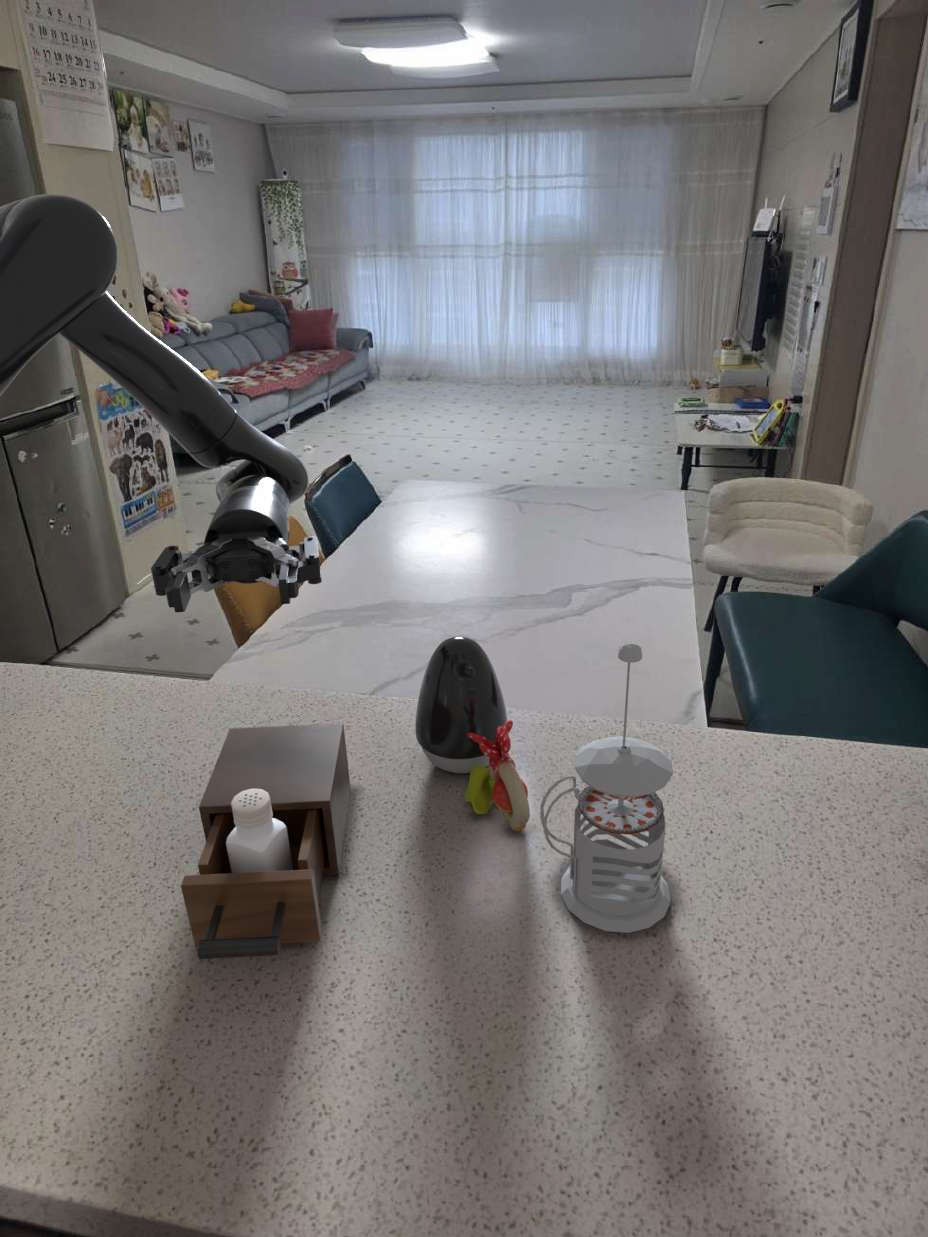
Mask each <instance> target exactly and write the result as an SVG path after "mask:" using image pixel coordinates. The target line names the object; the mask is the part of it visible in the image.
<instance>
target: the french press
mask: <svg viewBox="0 0 928 1237" xmlns="http://www.w3.org/2000/svg"><path fill="white" fill-rule="evenodd" d="M617 658H618V659H619V660H620V661H622V662H625V663H627V670H626V687H625V701H624V702H625V704H624V705H625V706H624V719H623V734H622V735H619V736H611V737H605V738H599V739H595V740H593V741H591V742H589V743H587V744H585V745H582V746H581V747H580V749H579V750H578V751H577V753H576V754H575V755H574V766H573V767H574V770H575V771H576V773H577V775H578V777H579V778H580V780H581V781H582V783H583V784H585V785H587V786H586V787H584V788H583V790H582V791H581V790H580V789H579V788H578V787H577V778H576V777H575V776H574V775H567V776H565V777H563V778H561V779H559V780H556V781H555V783H553V784H552V785H551V786H550V787H549V788H548V789H547V791H546V793H545V794H544V796H543V798H542V801H541V803H540V811H539V812H540V813H539V814H540V816H539V818H540V821H541V825H542V827H543V833H544V836H545V837H544V838H545V840H546V842H547V843H548V845H549V846H550V848H551V849H553V850H554V851H556V852H557V853H559V854H560V855H562V856H566V857H568V858H570V860H569V861H570V862H569V866H568V868H567V869H566V871H564V874H563V875H562V877H561V880H560V896H561V898H562V900H563V902H564V904H565V905H566V908H567V909H568V911H569V912H571V914H573V915H574V916H575V917H577V918H578V919H579V920H580V921H581V922H583V923H584V924H586V925H589V926H591V927H594V928H596V929H599V930H602V931H604V932H612V933H613V932H614V933H623V934H625V933H626V934H630V933H635V932H638V931H643V930H645V929H649V928H651V927H653V926H654V925H655V924H657V923H658V922H660V921H661V920H662V919H664V918H665V916H666V914H667V912H668V909H669V907H670V905H671V903H672V899H671V892H670V885H669V884H668V883H667V881H666V880H665V879H664V877H663V875H662V867H663V857H664V847H665V837H666V827H667V822H666V817H665V815H664V813H665V811H664V804H663V803H664V802H663V800H662V799H661V798H660V797H659V796H658V794H657V793H656V792H658V791H660V790H661V789H664V788H665V787H666V786H667V785H668V783H669V781H670V780H671V778H672V776H673V774H674V768H673V763H672V760H671V758H669V756H668V755H667V754H666V753H665V752H664V751H663V750H661V749H659V747H656V746H654V745H653V744H651V743H649V742H647V741H644V740H641V739H637V738H632V737H627V723H628V722H627V720H628V708H629V707H628V706H629V705H628V703H629V689H630V687H629V686H630V673H631V663H632V664H633V663H638V662H640V661H642V659H643V650H642V647H641V646H640V645H639V644H636V643H635V642H633V641H629V642H624V643H622V644H621V645H620V646H619V647H618V650H617ZM569 779H571V780H572V787H570V788H569V789H566V790H565V791H562V792H560V793H559V794H558V795H557V796H556V797H555V798H554V799H553V800H552V801H551V803H550V804H549V805H548V807H547V809H546V812H545V809H544V807H545V806H546V805H545V804H546V801H547V799H548V797H549V795H550V794H551V793H552V791H553V790H554V789H555V788H556V787H557V786H559V784H561V783H563V782H565V781H567V780H569ZM571 792H573V794H574V797H575V799H576V800H577V801H578V802H577V806H576V807H575V809H574V819H573V820H574V822H573V843H571V842H569V841H567V840H565V839H562V838H559V837H557V836H555V835H554V834H553V833H552V832H550V829H549V828H548V817H549V815H550V812H551V810H552V808H553V806H554V805H555V804H556V803H557V802H558V801H559V800H560V799H561V798H562V797H563V796H564V795H566V794H569V793H571ZM581 816H583V817H582V818H581ZM585 822H587V823H586V824H585V825H584V823H585ZM583 825H584V826H583ZM582 826H583V827H582ZM581 827H582V829H581ZM593 827H595V829H594V830H592V831H590V832H589V833H587V834H586V835H585V833H586V831H588V830H590V829H591V828H593ZM644 832H648V836H647V835H645V834H643V833H644ZM600 835H601V836H603V835H604V836H605V835H608V836H611V837H613V838H615V839H617V840H618V841H621V842H623V843H624V844H626V845H628V846H630V847H633V849H630V848H627V847H625V846H623V845H621V844H619V843H616V842H614V841H612V840H610V839H608V838H603V839H594V840H592V838H594V837H595V836H600ZM625 835H630V836H632V837H634V838H636V839H639V840H640V841H643V842H645V843H646V844H647V845H642V844H640V843H638V842H636V841H635V840H633V839H631V838H629V837H627V836H625ZM550 838H551V839H553V840H554V841H556V842H559V843H561V844H564V845H567V846H569V847H570V853H567V852H565V851H562V850H560V849H559V848H557V847H556V846H555V845H554V844H553V843H552V840H550Z"/></svg>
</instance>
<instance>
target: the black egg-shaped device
mask: <svg viewBox="0 0 928 1237" xmlns="http://www.w3.org/2000/svg"><path fill="white" fill-rule="evenodd" d="M416 707H417V708H416V713H415V737H416V741H417V743H418V745H419V746H420V747H421V750H422V752H423V753H424V755H425V756H426V758H427V760H429V762H431V763H432V764H433V765H434V766H436V767H437V768H439V769H441V770H443V771H444V772H449V773H453V774H471V770H472V768H473V767H475V766H483V767H486V768H487V767H489V758H490V757H488V756H486V755H485V754H484V753H483V752H482V751H481V750H480V744H479V743H477V742H475V741H474V740H472V739H470V738H469V737H468V733H474V734H477V735H480V736H483V737H486V738H487V739H488V740H489V741H491V742H492V743H494V744H495V741H494V737H495V733H496V730H497V728H498V727H499V726H503V725H504V724H505V723H506V722H507V721H509V719H508V715H507V714H508V713H507V709H506V704H505V700H504V695H503V692H502V689H501V685H500V682H499V680H498V676H497V674H496V671H495V668H494V666H493V663H492V662H491V659H490V658H489V656H488V655H487V653H486V651H485V650H484V649H483V647H482V646H481V645H480V644H479V643H478V642H476V640H474V639H472V638H470V637H468V636H463V635H456V636H451V637H448V638H447V639H445V640H443V641H442V642H440V644H438V645H437V647H436V649H435V650H434V651H433V653H432V655H431V656H430V659H429V660H428V663H427V665H426V668H425V671H424V674H423V678H422V681H421V686H420V689H419V693H418V700H417V705H416Z"/></svg>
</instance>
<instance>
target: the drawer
mask: <svg viewBox="0 0 928 1237" xmlns="http://www.w3.org/2000/svg"><path fill="white" fill-rule="evenodd" d="M272 812H273V816H272V818H275V819H277V820H279V821H281V822H283V823H284V824H285V825H286V827H287V833H288V839H289V846H290V852H291V859H292V865H293V870H288V871H268V872H247V873H232V872H231V867H230V862H229V857H228V852H227V846H226V841H227V837H228V836H229V835H230V833H231V832H232V830H233V829H234V828H235V827H236V825H235V823H234V817H233V812H232V813H216V816H215V819H214V822H213V825H212V827H211V830H210V833H209V836H208V838H207V841H206V840H205V844H204V847H203V849H202V853H201V854H200V858H199V861H198V863H197V868H198V873H199V874H188V875H186V874H185V875H184V876H183V879H182V881H181V884H180V889H181V894H182V897H183V898H182V899H183V901H184V906H185V910H186V914H187V919H188V922H189V926H190V930H191V935H192V939H193V944H194V948H197V958H198V960H200V961H201V960H203V961H205V960H219V959H220V960H221V959H238V958H239V959H241V958H243V959H244V958H257V957H258V958H260V957H279V956H280V954H281V949H282V944H290V943H291V944H292V943H293V944H294V943H309V942H312V943H313V942H321V940H322V935H323V934H322V933H323V932H322V931H323V927H322V920H321V914H320V907H319V897H320V890H321V884H322V879H323V875H322V873H323V867H324V861H325V855H326V849H327V843H326V835H325V828H324V820H323V813H322V808H316V809H295V810H274V811H272Z"/></svg>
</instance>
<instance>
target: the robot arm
mask: <svg viewBox="0 0 928 1237" xmlns="http://www.w3.org/2000/svg"><path fill="white" fill-rule="evenodd" d="M118 255H119V254H118V245H117V240H116V237H115V234H114V232H113V230H112V227H111V225H110V224H109V222H108V221H107V219H106V218H105V217H104V216H103V215H102V213H100V212H99V211H98V210H97V209H96V208H95V207H93V206H92V205H91V204H89V203H87V202H85V201H83V200H82V199H79V198H76V197H74V196H69V195H65V194H58V193H57V194H56V193H43V194H42V193H41V194H35V195H32V196H28V197H24V198H21V199H18V200H15V201H12V202H9V203H7V204H4V205H1V206H0V398H1V397H2V395H3V394H4V393H5V392H6V390H7V389H9V387H10V385H11V384H12V383H13V381H14V380H15V379H16V378H17V376H18V375H19V374H20V373H21V372H22V371H23V369H24V368H25V367H26V366H27V364H28V363H29V362H30V361H31V360H32V359H34V357H35V356H36V355H37V354H38V353H39V352H40V351H41V350H42V349H43V348H44V347H45V346H46V345H48V344H49V343H50V342H51V341H52V340H53V339H55V338H56V337H57V336H59V335H60V336H61V337H62V338H64V339H65V340H66V341H67V342H68V343H70V344H71V345H72V346H74V348H76V349H77V350H78V351H80V352H81V353H82V354H83V355H85V356H86V357H87V358H88V359H89V360H90V361H91V362H93V363H94V365H96V366H97V367H99V368H100V369H101V370H102V371H103V372H104V373H105V374H107V375H108V376H109V377H110V378H111V379H112V380H113V381H114V382H115V383H117V385H118V386H120V387H121V388H122V389H123V390H124V391H125V392H126V393H127V394H128V395H129V396H131V397H132V398H133V399H134V401H136V402H137V403H138V404H139V405H140V406H141V407H142V408H143V409H144V410H145V412H147V413H148V414H149V416H151V417H152V418H153V419H154V420H155V421H156V422H157V424H159V426H161V427H162V428H163V429H164V430H165V431H166V432H167V433H168V435H169V436H170V437H172V439H173V440H174V441H175V442H176V443H177V444H178V445H179V446H180V447H181V448H182V449H183V450H184V451H185V452H186V453H187V454H188V455H189V456H190V457H191V458H192V459H193V460H194V461H195V462H197V463H198V464H199V465H201V466H202V467H205V468H209V469H211V468H218V467H221V466H224V465H228V464H230V463H233V462H236V461H242V462H241V463H239V464H238V465H236V466H235V467H233V468H232V469H231V470H229V471H228V472H227V473H225V474H224V475H223V476H222V477H221V478H220V479H219V480H218V482H217V483H216V486H215V492H216V493H215V494H216V496H217V499H218V501H219V504H218V506H217V508H216V510H215V512H214V514H213V516H212V519H211V521H210V523H209V526H208V529H207V530H206V533H205V537H204V541H203V545H201V546H199V547H198V548H197V549H195V551H194V552H186V553H185V552H183V553H182V551H181V550H180V548H179V546H178V545H169V546H166V547H165V548H164V549H163V550H162V552H161V553H160V554H159V555H158V557H157V559H156V560H155V561H154V563H153V565H152V566H151V567H150V572H151V577H152V579H153V580H152V581H153V586H154V592H155V595H156V596H158V597H166V600H167V605H168V607H169V609H171V608H173V609H174V613H176V614H177V613H185V612H186V610H187V607H188V605H189V602H190V600H191V597H192V595H193V594H195V593H198V592H203V593H204V592H205V593H208V592H210V591H213V590H215V589H217V588H218V587H221V586H222V585H224V584H232V583H237V584H242V585H243V584H244V585H252V584H257V583H261V582H264V583H265V584H268V585H270V586H273V587H275V588H276V587H278V590H279V598H280V604H281V605H290V604H291V600H292V599H296V598H297V597H298V596H299V593H300V588H301V587H302V583H304V582H307V584H309V585H318V584H321V583H322V581H323V579H322V578H323V577H322V572H321V560H320V553H319V545H318V537H317V536H315V535H308V536H305V537H304V538H303V541H300V542H299V543H298V545H289V541H290V534H291V531H290V520H289V517H290V507H291V505H292V504H294V503H296V501H298V500H300V499H301V498H302V497H303V496H304V495H305V494H306V493H307V490H308V488H309V483H310V482H309V481H310V480H309V479H310V478H309V474H308V470H307V468H306V466H305V464H304V463H303V461H302V460H301V459H300V458H299V457H298V456H297V455H296V454H295V453H294V452H293V451H291V450H290V449H289V448H288V447H286V446H285V445H283V444H282V443H280V442H279V441H277V440H275V439H274V438H272V437H270V436H268V434H265V433H264V432H262V431H261V430H259V429H258V428H257V427H255V426H254V425H253V424H251V423H250V422H249V421H248V420H246V419H245V418H244V417H243V416H242V415H241V414H240V413H239V412H238V411H237V410H236V409H235V407H233V405H232V404H231V403H230V402H229V401H228V399H226V398H225V396H224V395H223V394H222V393H221V392H220V391H219V389H218V388H217V387H216V386H215V385H214V384H213V383H212V381H210V380H209V379H208V377H206V375H204V374H203V373H202V372H201V371H200V370H198V368H196V367H195V366H194V365H192V363H190V362H189V361H187V360H186V359H185V358H184V357H183V356H181V355H180V354H179V353H177V352H176V351H175V350H174V349H172V348H171V347H169V346H168V345H167V344H165V343H164V342H162V341H161V340H160V339H159V338H157V337H156V336H154V335H153V334H152V333H151V332H150V331H148V330H147V329H145V328H144V327H143V326H142V325H141V324H140V323H138V322H137V321H136V319H134V318H133V317H132V316H131V315H130V314H129V313H127V311H125V310H124V309H123V307H121V306H120V304H119V303H117V301H116V300H115V299H114V297H113V296H111V294H110V293H109V292H108V290H109V289H110V287H111V285H112V283H113V281H114V279H115V277H116V276H115V275H116V272H117V269H118V268H117V267H118V262H119V259H118V258H119V256H118ZM189 573H191V580H190V582H189V576H188V574H189ZM209 576H210V578H209Z"/></svg>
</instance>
